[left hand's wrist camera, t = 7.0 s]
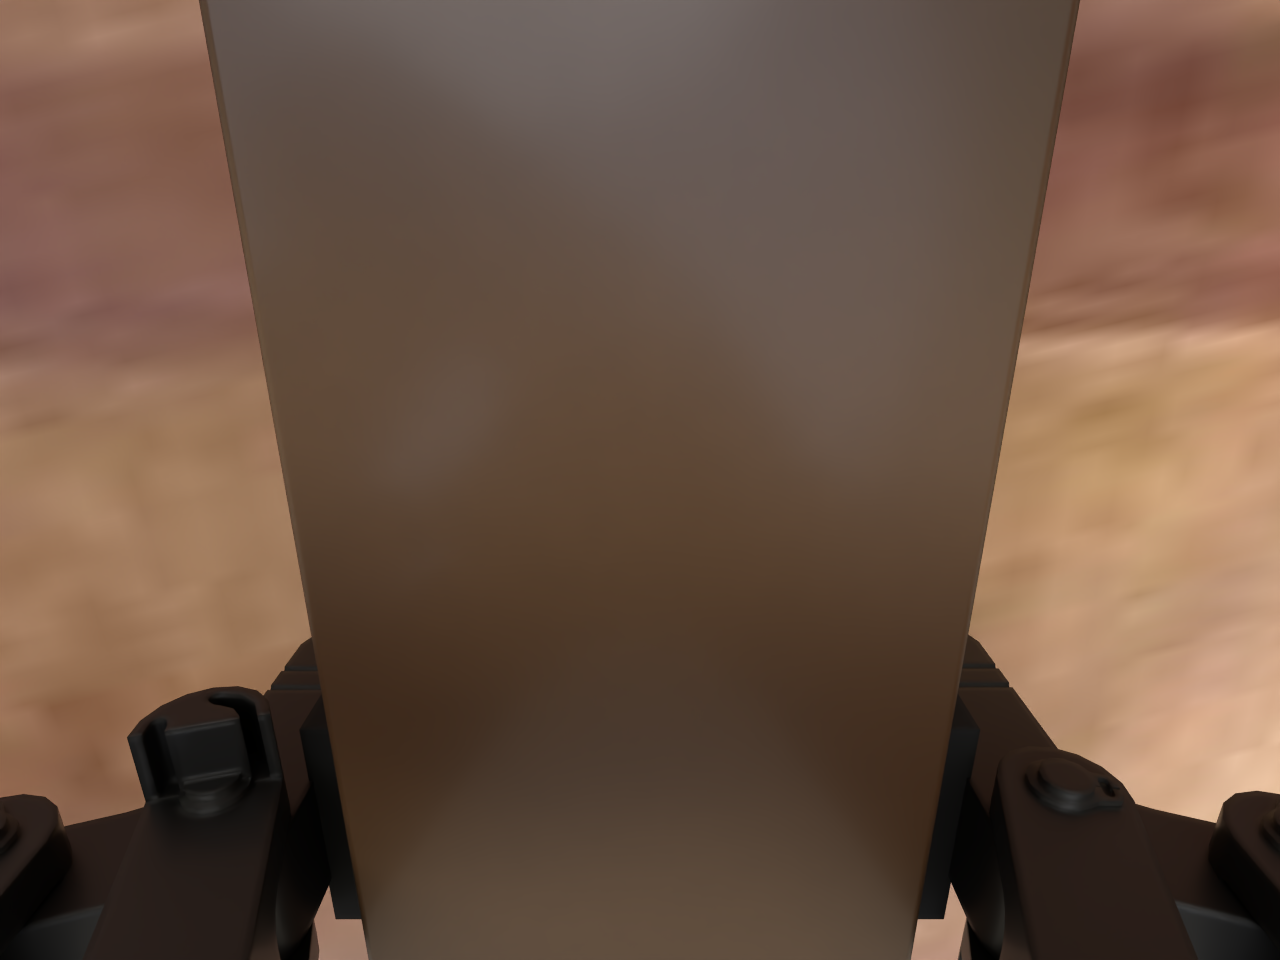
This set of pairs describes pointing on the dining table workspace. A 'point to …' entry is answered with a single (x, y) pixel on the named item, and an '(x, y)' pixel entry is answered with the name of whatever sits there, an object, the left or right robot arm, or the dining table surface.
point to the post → (639, 441)
